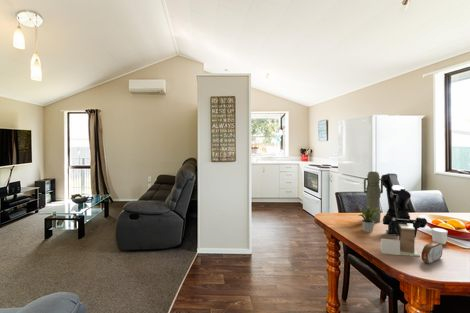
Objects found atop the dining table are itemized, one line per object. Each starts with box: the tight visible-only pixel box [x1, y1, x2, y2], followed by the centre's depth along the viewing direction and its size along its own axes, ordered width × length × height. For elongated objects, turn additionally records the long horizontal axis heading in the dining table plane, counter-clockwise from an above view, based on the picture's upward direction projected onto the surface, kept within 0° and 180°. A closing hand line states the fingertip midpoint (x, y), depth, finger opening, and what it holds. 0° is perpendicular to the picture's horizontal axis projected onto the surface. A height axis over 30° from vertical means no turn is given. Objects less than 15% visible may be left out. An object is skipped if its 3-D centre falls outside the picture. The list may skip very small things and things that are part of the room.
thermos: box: [363, 171, 384, 224], centre depth 174 cm, size 9×12×35 cm
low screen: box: [380, 238, 400, 256], centre depth 123 cm, size 2×8×7 cm, turn 70°
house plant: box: [357, 205, 379, 233], centre depth 154 cm, size 14×14×16 cm
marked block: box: [398, 224, 416, 253], centre depth 125 cm, size 6×6×12 cm
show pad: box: [399, 248, 421, 258], centre depth 125 cm, size 9×9×1 cm
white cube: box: [431, 227, 448, 245], centre depth 136 cm, size 7×7×7 cm
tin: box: [420, 241, 444, 264], centre depth 115 cm, size 15×3×8 cm, turn 118°
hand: (407, 236), depth 123 cm, fingers open, 6 cm apart
